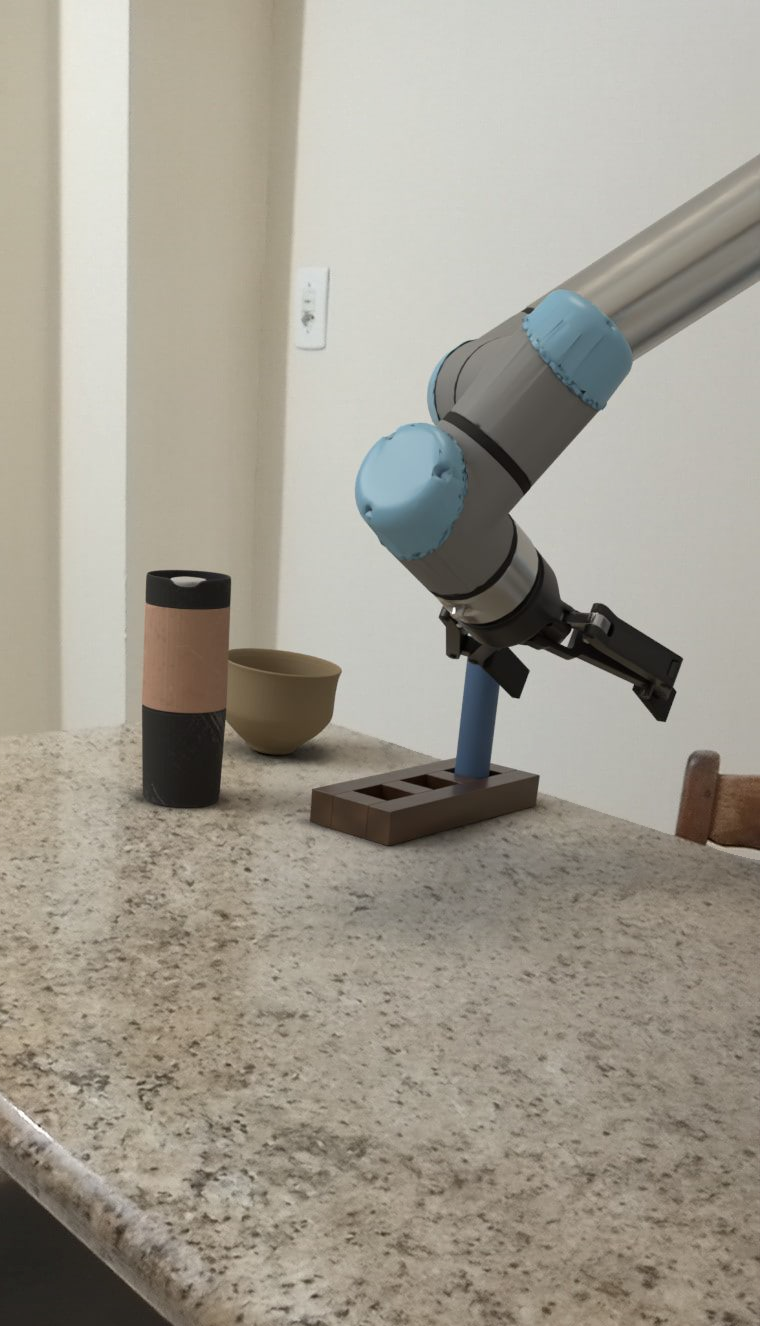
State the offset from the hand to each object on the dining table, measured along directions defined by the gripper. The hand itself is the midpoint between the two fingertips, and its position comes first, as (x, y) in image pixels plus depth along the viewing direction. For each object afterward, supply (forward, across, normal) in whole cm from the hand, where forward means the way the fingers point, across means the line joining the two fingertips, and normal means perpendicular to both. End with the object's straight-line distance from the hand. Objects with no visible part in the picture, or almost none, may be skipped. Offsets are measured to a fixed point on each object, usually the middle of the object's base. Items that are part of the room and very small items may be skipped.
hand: (591, 695), depth 118 cm
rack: (+2, -12, -13) cm, 18 cm away
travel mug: (-10, -31, -19) cm, 38 cm away
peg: (+7, -12, -10) cm, 17 cm away
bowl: (+9, -37, -9) cm, 39 cm away
